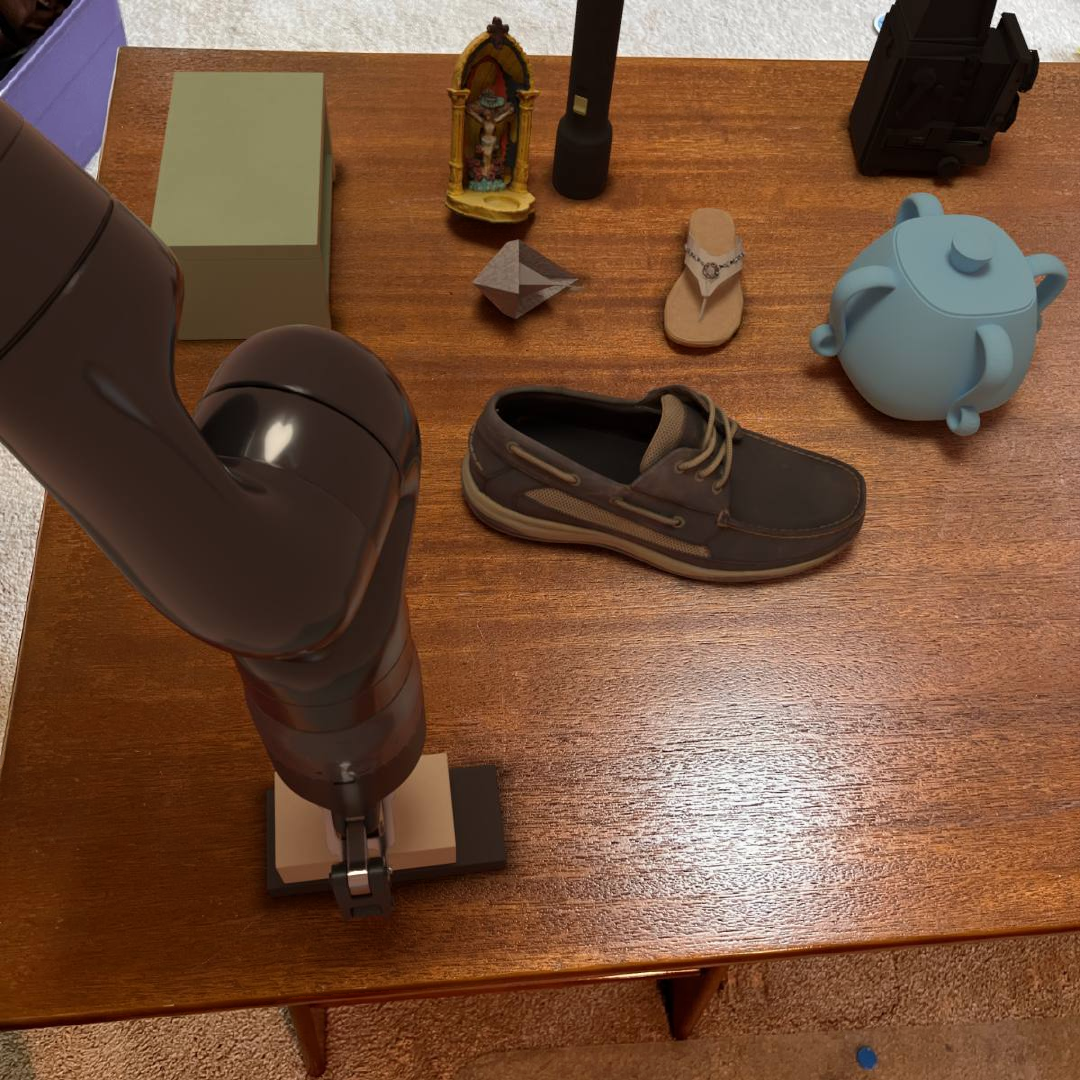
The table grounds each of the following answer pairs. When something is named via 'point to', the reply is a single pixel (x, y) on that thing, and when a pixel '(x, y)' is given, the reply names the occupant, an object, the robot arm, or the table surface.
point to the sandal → (707, 283)
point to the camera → (940, 86)
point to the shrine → (491, 129)
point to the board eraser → (420, 826)
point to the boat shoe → (658, 483)
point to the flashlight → (588, 102)
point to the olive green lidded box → (248, 200)
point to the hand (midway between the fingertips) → (368, 809)
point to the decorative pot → (939, 316)
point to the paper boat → (521, 279)
